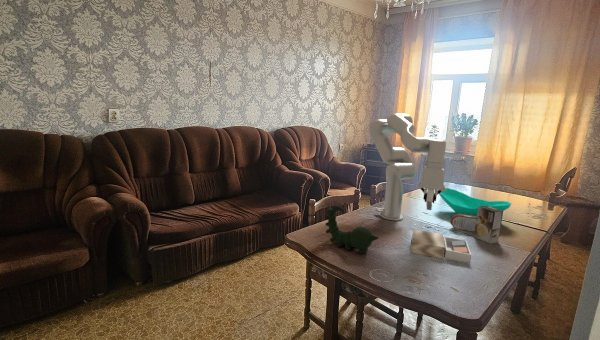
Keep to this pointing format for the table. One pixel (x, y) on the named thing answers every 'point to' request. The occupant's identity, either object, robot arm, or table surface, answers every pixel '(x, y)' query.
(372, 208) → the table surface
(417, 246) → the wood grain block
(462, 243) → the tile slate
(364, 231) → the toy figurine
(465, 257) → the box
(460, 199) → the table top decor
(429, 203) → the scraper
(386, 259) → the table surface
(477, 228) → the coffee box
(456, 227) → the tin
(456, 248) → the tile terracotta
